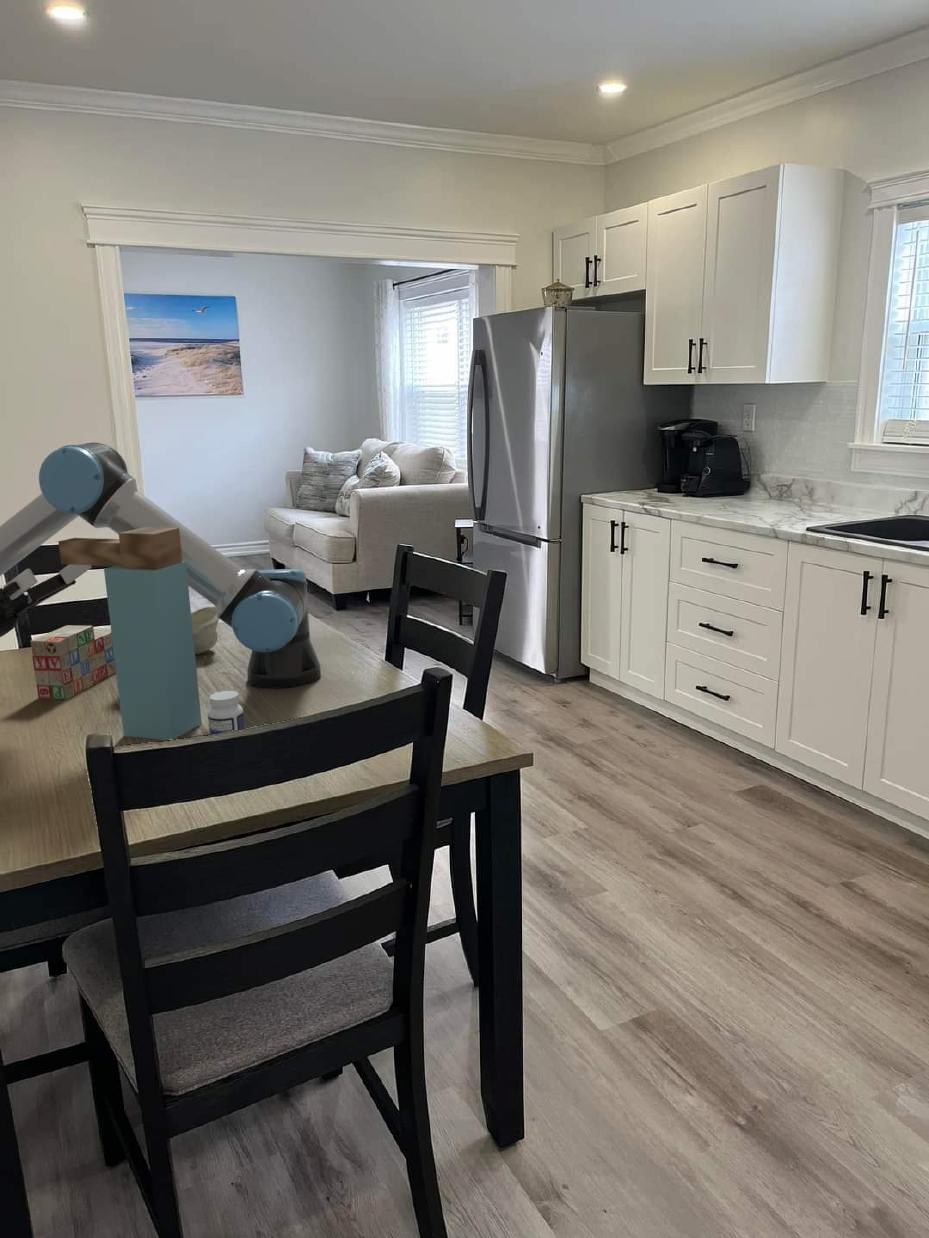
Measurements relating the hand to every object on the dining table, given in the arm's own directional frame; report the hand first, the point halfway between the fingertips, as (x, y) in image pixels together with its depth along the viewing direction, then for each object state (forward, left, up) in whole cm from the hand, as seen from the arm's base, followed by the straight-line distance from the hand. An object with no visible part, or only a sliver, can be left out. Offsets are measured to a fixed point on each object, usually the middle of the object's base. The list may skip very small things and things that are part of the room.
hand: (60, 568), depth 165 cm
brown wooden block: (-11, +6, +1) cm, 12 cm away
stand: (-16, +9, -29) cm, 34 cm away
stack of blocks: (+4, -26, -29) cm, 39 cm away
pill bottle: (-28, +23, -29) cm, 46 cm away
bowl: (-18, -43, -29) cm, 55 cm away
